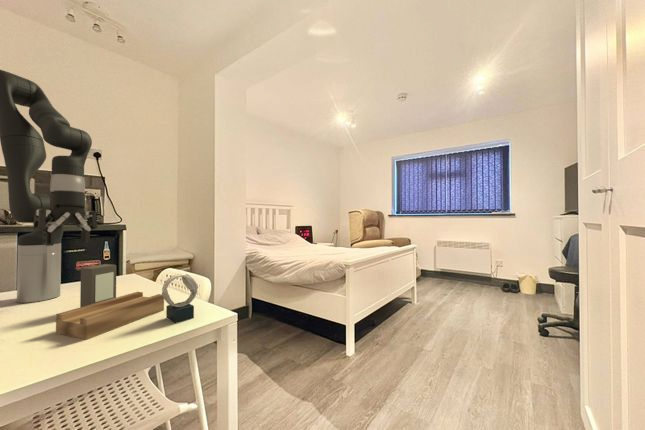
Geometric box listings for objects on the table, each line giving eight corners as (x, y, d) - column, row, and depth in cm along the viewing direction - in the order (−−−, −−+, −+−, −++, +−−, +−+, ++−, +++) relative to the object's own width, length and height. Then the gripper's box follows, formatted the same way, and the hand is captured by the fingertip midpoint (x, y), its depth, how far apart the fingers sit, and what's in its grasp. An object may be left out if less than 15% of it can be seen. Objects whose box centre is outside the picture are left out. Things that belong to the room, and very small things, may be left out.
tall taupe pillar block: (80, 312, 68) (80, 267, 68) (105, 305, 74) (105, 264, 74) (91, 314, 67) (92, 268, 67) (116, 306, 73) (116, 264, 73)
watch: (201, 315, 66) (201, 273, 66) (167, 326, 59) (167, 279, 59) (191, 310, 69) (191, 270, 69) (158, 320, 63) (158, 275, 63)
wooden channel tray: (55, 333, 56) (56, 314, 56) (137, 306, 73) (137, 291, 73) (86, 339, 53) (86, 319, 53) (164, 309, 70) (164, 294, 70)
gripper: (86, 194, 85) (86, 242, 84) (27, 188, 71) (26, 246, 70) (103, 193, 83) (102, 242, 82) (45, 187, 69) (45, 246, 68)
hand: (67, 244), depth 76 cm, fingers open, 8 cm apart
